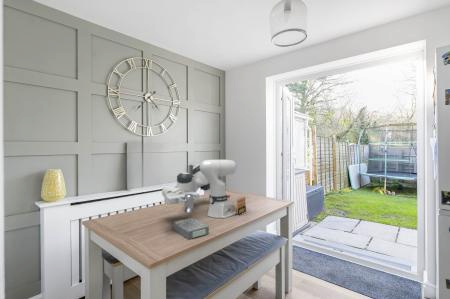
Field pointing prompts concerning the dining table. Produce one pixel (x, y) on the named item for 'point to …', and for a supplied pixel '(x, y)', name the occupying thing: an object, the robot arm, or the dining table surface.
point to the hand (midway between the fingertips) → (189, 200)
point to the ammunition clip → (240, 206)
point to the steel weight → (188, 203)
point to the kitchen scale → (191, 228)
